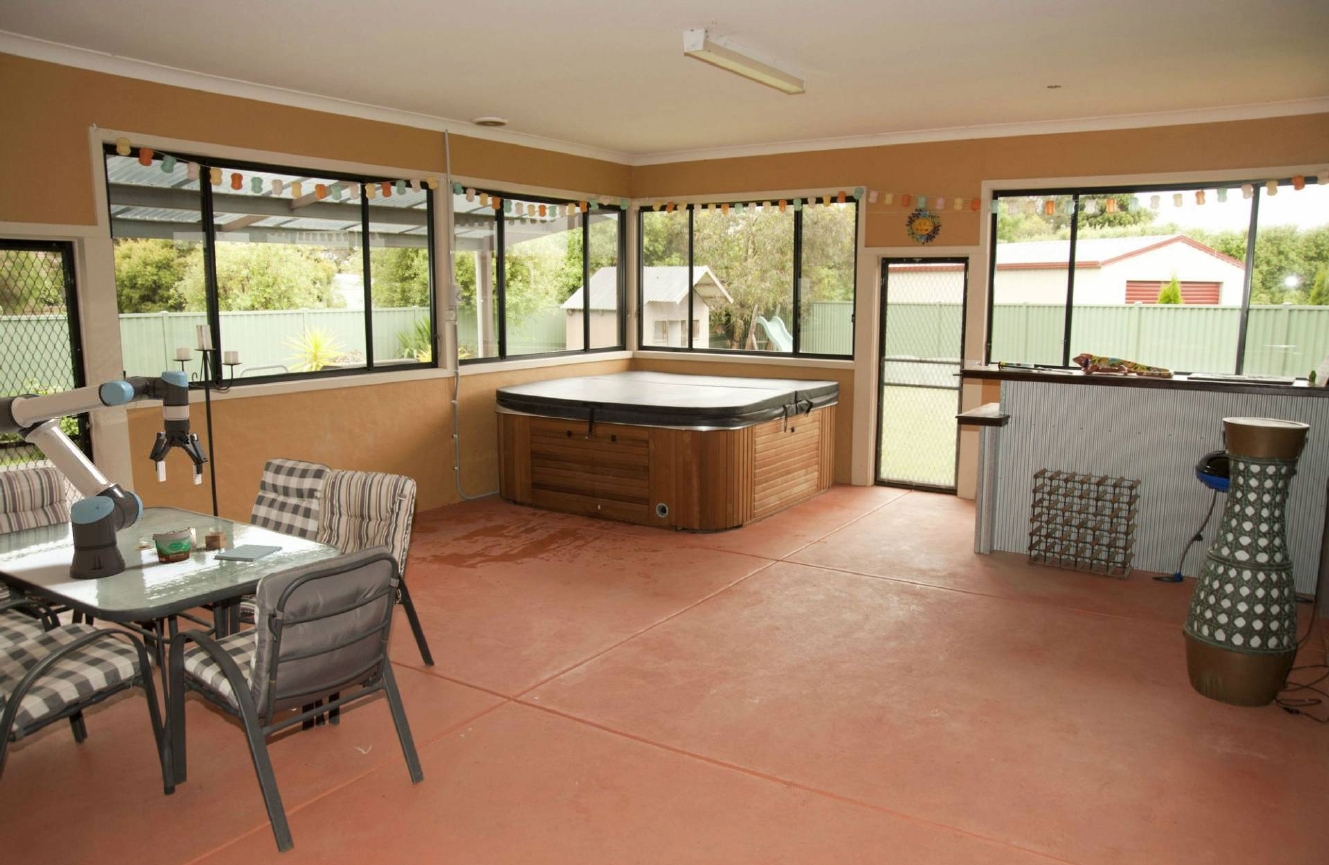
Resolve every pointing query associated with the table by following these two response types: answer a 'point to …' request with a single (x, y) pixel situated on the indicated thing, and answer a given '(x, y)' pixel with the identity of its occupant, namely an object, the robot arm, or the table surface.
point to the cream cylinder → (192, 539)
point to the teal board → (248, 552)
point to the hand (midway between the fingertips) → (179, 482)
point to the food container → (173, 546)
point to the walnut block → (216, 540)
